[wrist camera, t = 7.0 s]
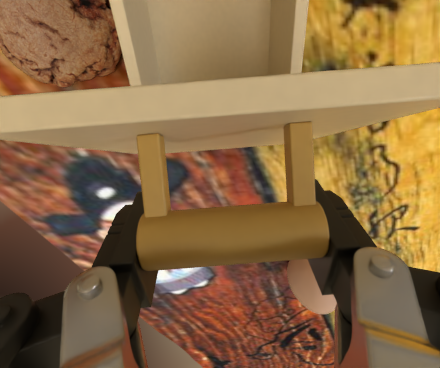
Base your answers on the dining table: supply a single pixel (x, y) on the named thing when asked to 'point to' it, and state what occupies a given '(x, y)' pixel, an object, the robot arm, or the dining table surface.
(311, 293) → the egg
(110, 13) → the cookie
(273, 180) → the dining table surface
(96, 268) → the robot arm
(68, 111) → the lid
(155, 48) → the chest
